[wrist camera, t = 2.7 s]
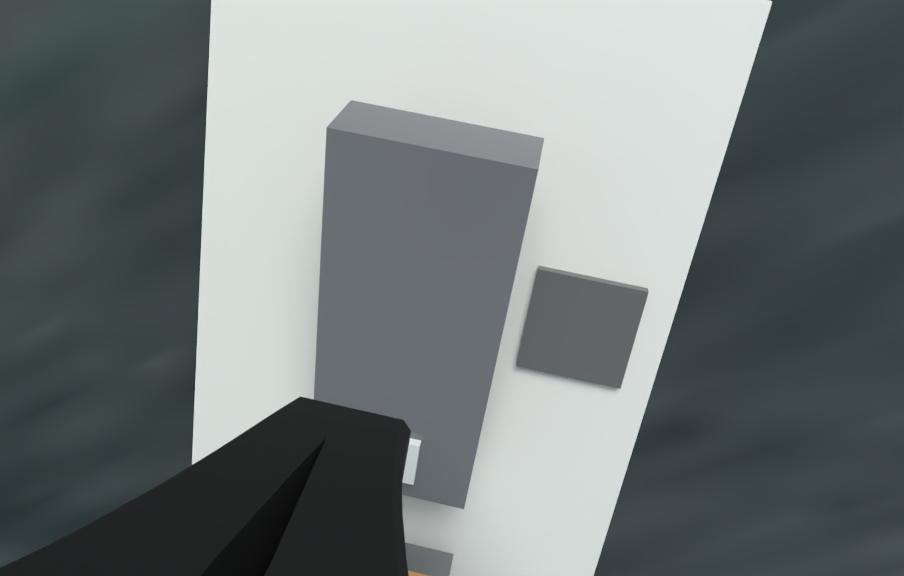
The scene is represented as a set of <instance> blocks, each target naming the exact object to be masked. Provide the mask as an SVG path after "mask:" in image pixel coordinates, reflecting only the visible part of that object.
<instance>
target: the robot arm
mask: <svg viewBox="0 0 904 576" xmlns="http://www.w3.org/2000/svg"><path fill="white" fill-rule="evenodd" d="M410 435H411V430H410V429H409V427H408V426H407V424H406V423H405V421H404V420H402V419H398V418H393V417H389V416H384V415H380V414H376V413H371V412H367V411H362V410H358V409H353V408H349V407H345V406H340V405H336V404H331V403H327V402H322V401H318V400H314V399H309V398H305V397H299V398H297V399H295V400H294V401H292V402H290V403H289V404H287V405H286V406H284V407H282V408H281V409H279V410H277V411H276V412H274V413H273V414H271V415H270V416H268V417H267V418H265V419H263V420H262V421H260V422H259V423H257V424H256V425H254V426H253V427H251V428H250V429H248V430H247V431H245V432H243V433H242V434H240V435H239V436H237V437H236V438H234V439H233V440H231V441H230V442H228V443H226V444H225V445H223V446H222V447H220V448H219V449H217V450H216V451H214V452H212V453H211V454H209V455H207V456H206V457H204V458H203V459H201V460H199V461H198V462H196V463H194V464H193V465H191V466H190V467H188V468H186V469H185V470H183V471H181V472H180V473H178V474H176V475H175V476H173V477H172V478H170V479H168V480H167V481H165V482H163V483H162V484H160V485H158V486H157V487H155V488H153V489H152V490H150V491H148V492H146V493H144V494H143V495H141V496H139V497H137V498H135V499H134V500H132V501H130V502H128V503H126V504H125V505H123V506H121V507H119V508H117V509H115V510H114V511H112V512H110V513H108V514H106V515H105V516H103V517H101V518H99V519H97V520H95V521H94V522H92V523H90V524H88V525H86V526H85V527H83V528H81V529H79V530H77V531H75V532H73V533H72V534H70V535H68V536H66V537H64V538H62V539H60V540H58V541H56V542H54V543H52V544H50V545H48V546H46V547H44V548H41V549H39V550H37V551H35V552H33V553H31V554H29V555H27V556H25V557H23V558H21V559H19V560H17V561H14V562H12V563H10V564H8V565H6V566H3V567H1V568H0V576H409V575H408V567H407V559H406V548H405V536H404V525H403V511H402V481H403V475H404V469H405V464H406V458H407V452H408V446H409V441H410Z"/></svg>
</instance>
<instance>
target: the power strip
mask: <svg viewBox="0 0 904 576" xmlns="http://www.w3.org/2000/svg"><path fill="white" fill-rule="evenodd" d="M771 4H772V1H768V0H211V23H210V47H209V71H208V95H207V118H206V142H205V166H204V190H203V214H202V237H201V261H200V285H199V309H198V333H197V356H196V380H195V404H194V428H193V451H192V465H193V464H194V463H196V462H198V461H199V460H201V459H203V458H204V457H206V456H207V455H209V454H211V453H212V452H214V451H216V450H217V449H219V448H220V447H222V446H223V445H225V444H226V443H228V442H230V441H231V440H233V439H234V438H236V437H237V436H239V435H240V434H242V433H243V432H245V431H247V430H248V429H250V428H251V427H253V426H254V425H256V424H257V423H259V422H260V421H262V420H263V419H265V418H267V417H268V416H270V415H271V414H273V413H274V412H276V411H277V410H279V409H281V408H282V407H284V406H286V405H287V404H289V403H290V402H292V401H294V400H295V399H297V398H299V397H305V398H309V399H314V383H315V362H316V341H317V320H318V298H319V277H320V256H321V235H322V214H323V192H324V171H325V150H326V129H327V126H328V125H329V124H330V123H331V122H332V121H333V120H334V118H335V117H336V116H337V115H338V114H339V113H340V112H341V111H342V110H343V108H344V107H345V106H346V105H347V104H348V103H349V102H350V101H351V100H353V101H358V102H363V103H368V104H373V105H378V106H384V107H389V108H394V109H399V110H404V111H409V112H414V113H419V114H424V115H429V116H434V117H440V118H445V119H450V120H455V121H460V122H465V123H470V124H475V125H480V126H485V127H490V128H496V129H501V130H506V131H511V132H516V133H521V134H526V135H531V136H536V137H541V138H544V142H543V148H542V153H541V158H540V164H539V169H538V174H537V178H536V183H535V187H534V192H533V197H532V201H531V206H530V210H529V215H528V219H527V224H526V229H525V233H524V238H523V242H522V247H521V251H520V256H519V260H518V265H517V270H516V274H515V279H514V283H513V288H512V292H511V297H510V302H509V306H508V311H507V315H506V320H505V324H504V329H503V333H502V338H501V343H500V347H499V352H498V356H497V361H496V365H495V370H494V375H493V379H492V384H491V388H490V393H489V397H488V402H487V406H486V411H485V416H484V420H483V425H482V429H481V434H480V438H479V443H478V448H477V452H476V457H475V461H474V466H473V470H472V475H471V479H470V484H469V489H468V493H467V498H466V502H465V507H464V509H461V508H456V507H452V506H448V505H444V504H439V503H435V502H431V501H426V500H422V499H418V498H414V497H409V496H405V495H402V511H403V525H404V536H405V543H410V544H414V545H418V546H422V547H426V548H431V549H435V550H439V551H443V552H447V553H452V554H454V555H453V560H452V565H451V570H450V575H449V576H593V575H594V572H595V569H596V566H597V563H598V559H599V556H600V553H601V550H602V546H603V543H604V540H605V537H606V534H607V530H608V527H609V524H610V521H611V518H612V514H613V511H614V508H615V505H616V502H617V498H618V495H619V492H620V489H621V486H622V482H623V479H624V476H625V473H626V469H627V466H628V463H629V460H630V457H631V453H632V450H633V447H634V444H635V441H636V437H637V434H638V431H639V428H640V425H641V421H642V418H643V415H644V412H645V409H646V405H647V402H648V399H649V396H650V392H651V389H652V386H653V383H654V380H655V376H656V373H657V370H658V367H659V364H660V360H661V357H662V354H663V351H664V348H665V344H666V341H667V338H668V335H669V332H670V328H671V325H672V322H673V319H674V315H675V312H676V309H677V306H678V303H679V299H680V296H681V293H682V290H683V287H684V283H685V280H686V277H687V274H688V271H689V267H690V264H691V261H692V258H693V254H694V251H695V248H696V245H697V242H698V238H699V235H700V232H701V229H702V226H703V222H704V219H705V216H706V213H707V210H708V206H709V203H710V200H711V197H712V194H713V190H714V187H715V184H716V181H717V177H718V174H719V171H720V168H721V165H722V161H723V158H724V155H725V152H726V149H727V145H728V142H729V139H730V136H731V133H732V129H733V126H734V123H735V120H736V117H737V113H738V110H739V107H740V104H741V100H742V97H743V94H744V91H745V88H746V84H747V81H748V78H749V75H750V72H751V68H752V65H753V62H754V59H755V56H756V52H757V49H758V46H759V43H760V40H761V36H762V33H763V30H764V27H765V23H766V20H767V17H768V14H769V11H770V7H771Z"/></svg>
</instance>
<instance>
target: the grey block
mask: <svg viewBox="0 0 904 576" xmlns="http://www.w3.org/2000/svg"><path fill="white" fill-rule="evenodd" d="M543 142H544V138H541V137H536V136H531V135H526V134H521V133H516V132H511V131H506V130H501V129H496V128H490V127H485V126H480V125H475V124H470V123H465V122H460V121H455V120H450V119H445V118H440V117H434V116H429V115H424V114H419V113H414V112H409V111H404V110H399V109H394V108H389V107H384V106H378V105H373V104H368V103H363V102H358V101H353V100H351V101H350V102H349V103H348V104H347V105H346V106H345V107H344V108H343V110H342V111H341V112H340V113H339V114H338V115H337V116H336V117H335V118H334V120H333V121H332V122H331V123H330V124H329V125H328V126H327V129H326V150H325V171H324V192H323V214H322V235H321V256H320V277H319V298H318V320H317V341H316V362H315V383H314V400H318V401H322V402H327V403H331V404H336V405H340V406H345V407H349V408H353V409H358V410H362V411H367V412H371V413H376V414H380V415H384V416H389V417H393V418H398V419H402V420H404V421H405V423H406V424H407V426H408V427H409V429H410V430H411V435H410V441H409V446H408V452H407V458H406V464H405V469H404V475H403V481H402V495H405V496H409V497H414V498H418V499H422V500H426V501H431V502H435V503H439V504H444V505H448V506H452V507H456V508H461V509H464V507H465V502H466V498H467V493H468V489H469V484H470V479H471V475H472V470H473V466H474V461H475V457H476V452H477V448H478V443H479V438H480V434H481V429H482V425H483V420H484V416H485V411H486V406H487V402H488V397H489V393H490V388H491V384H492V379H493V375H494V370H495V365H496V361H497V356H498V352H499V347H500V343H501V338H502V333H503V329H504V324H505V320H506V315H507V311H508V306H509V302H510V297H511V292H512V288H513V283H514V279H515V274H516V270H517V265H518V260H519V256H520V251H521V247H522V242H523V238H524V233H525V229H526V224H527V219H528V215H529V210H530V206H531V201H532V197H533V192H534V187H535V183H536V178H537V174H538V169H539V164H540V158H541V153H542V148H543Z"/></svg>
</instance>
